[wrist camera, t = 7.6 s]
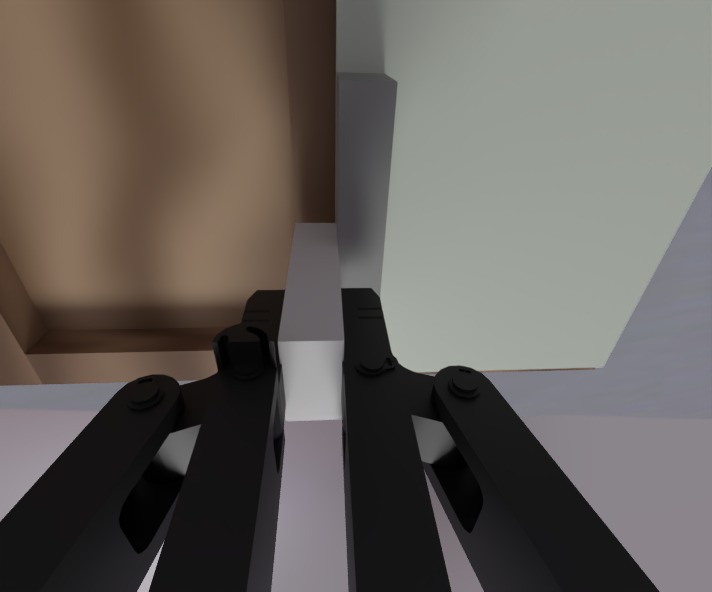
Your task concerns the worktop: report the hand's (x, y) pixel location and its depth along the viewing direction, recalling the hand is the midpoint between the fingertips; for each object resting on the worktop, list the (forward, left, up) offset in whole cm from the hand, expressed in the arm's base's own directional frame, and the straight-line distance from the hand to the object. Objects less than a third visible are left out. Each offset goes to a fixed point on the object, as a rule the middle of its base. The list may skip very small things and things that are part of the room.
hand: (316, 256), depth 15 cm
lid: (+5, +6, -1) cm, 8 cm away
